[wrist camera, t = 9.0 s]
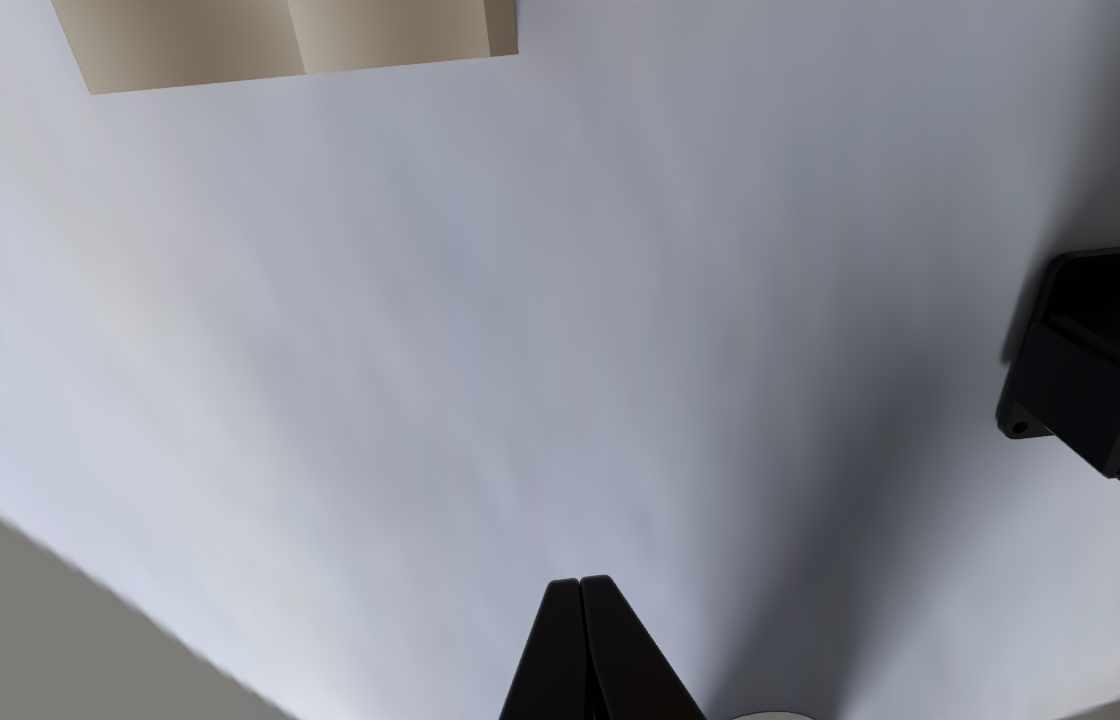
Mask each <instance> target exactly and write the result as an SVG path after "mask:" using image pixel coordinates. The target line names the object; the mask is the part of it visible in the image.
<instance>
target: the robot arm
mask: <svg viewBox="0 0 1120 720" xmlns="http://www.w3.org/2000/svg"><path fill="white" fill-rule="evenodd" d="M1070 267H1071V269H1070V271H1069V272H1068V273H1067V274H1065V272H1066V270H1068V269H1069V268H1070ZM1064 274H1065V275H1064ZM997 427H998V428H999V430H1000V431H1001V432H1002V433H1003V434H1004V435H1005V436H1006V437H1008V438H1010V439H1024V438H1034V437H1043V436H1052V435H1055V436H1056V437H1058V438H1059V439H1060V440H1061V441H1062V442H1064V443H1065V444H1066V445H1067V446H1068V447H1069V448H1071V449H1072V450H1073V451H1074V452H1075V453H1077V454H1078V455H1079V456H1080V457H1081V458H1083V459H1084V460H1085V461H1086V462H1087V463H1088V464H1090V465H1091V466H1092V467H1093V468H1094V469H1096V470H1097V471H1098V472H1099V473H1100V474H1102V475H1103V476H1104V477H1106V478H1108V479H1111V478H1117V479H1118V480H1119V481H1120V247H1115V248H1106V249H1096V250H1086V251H1077V252H1068V253H1064V254H1061V255H1059V256H1058V257H1056V258H1054V259H1053V260H1052V262H1051V263H1050V264H1049V265H1048V267H1047V269H1046V272H1045V275H1044V278H1043V281H1042V284H1041V287H1040V291H1039V294H1038V297H1037V300H1036V303H1035V306H1034V309H1033V313H1032V316H1031V319H1030V322H1029V325H1028V328H1027V332H1026V335H1025V338H1024V341H1023V344H1022V347H1021V350H1020V354H1019V357H1018V360H1017V363H1016V366H1015V369H1014V372H1013V376H1012V379H1011V382H1010V385H1009V388H1008V391H1007V394H1006V398H1005V401H1004V404H1003V407H1002V410H1001V413H1000V416H999V420H998V425H997ZM594 719H595V720H707V719H706V717H705V716H704V714H703V713H702V711H701V710H700V708H699V707H698V705H697V704H696V702H695V701H694V700H693V698H692V697H691V695H690V694H689V692H688V691H687V689H686V688H685V686H684V685H683V683H682V682H681V680H680V679H679V677H678V676H677V674H676V673H675V671H674V670H673V668H672V667H671V665H670V664H669V663H668V661H667V660H666V658H665V657H664V655H663V654H662V652H661V651H660V649H659V648H658V646H657V645H656V643H655V642H654V640H653V639H652V637H651V636H650V634H649V633H648V631H647V630H646V628H645V627H644V625H643V624H642V623H641V621H640V620H639V618H638V617H637V615H636V614H635V612H634V611H633V609H632V608H631V606H630V605H629V603H628V602H627V600H626V599H625V597H624V596H623V594H622V593H621V591H620V590H619V588H618V587H617V586H616V584H615V583H614V581H613V580H612V578H611V577H610V576H608V575H597V576H588V577H583V578H582V579H581V580H580V584H579V581H578V580H577V579H575V578H570V579H561V580H553V581H551V582H550V583H549V584H548V586H547V588H546V591H545V594H544V596H543V599H542V602H541V604H540V607H539V610H538V613H537V615H536V618H535V621H534V624H533V626H532V629H531V632H530V635H529V637H528V640H527V643H526V646H525V648H524V651H523V654H522V657H521V659H520V662H519V665H518V667H517V670H516V673H515V676H514V678H513V681H512V684H511V687H510V689H509V692H508V695H507V698H506V700H505V703H504V706H503V709H502V711H501V714H500V717H499V720H594Z"/></svg>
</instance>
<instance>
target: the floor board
mask: <svg viewBox="0 0 1120 720" xmlns="http://www.w3.org/2000/svg"><path fill="white" fill-rule="evenodd" d="M51 2H52V4H53V6H54V9H55V11H56V14H57V16H58V18H59V21H60V23H61V26H62V28H63V30H64V33H65V35H66V38H67V40H68V42H69V45H70V47H71V50H72V52H73V54H74V57H75V59H76V62H77V64H78V66H79V69H80V71H81V74H82V76H83V79H84V81H85V83H86V86H87V88H88V91H89V93H90V95H96V94H106V93H116V92H127V91H137V90H148V89H158V88H168V87H179V86H189V85H200V84H210V83H221V82H231V81H241V80H252V79H262V78H273V77H283V76H294V75H304V74H314V73H325V72H335V71H346V70H356V69H366V68H377V67H387V66H398V65H408V64H419V63H429V62H439V61H450V60H460V59H471V58H481V57H494V56H504V55H514V54H519V52H518V42H517V33H516V23H515V13H514V3H513V0H51Z"/></svg>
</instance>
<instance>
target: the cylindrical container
mask: <svg viewBox="0 0 1120 720" xmlns="http://www.w3.org/2000/svg"><path fill="white" fill-rule="evenodd" d="M733 720H813V719H811V718H809V717H806V716H803V715H800V714H794V713H789V712H765V713H756V714H751V715H746V716H742V717H739V718H736V719H733Z"/></svg>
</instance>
